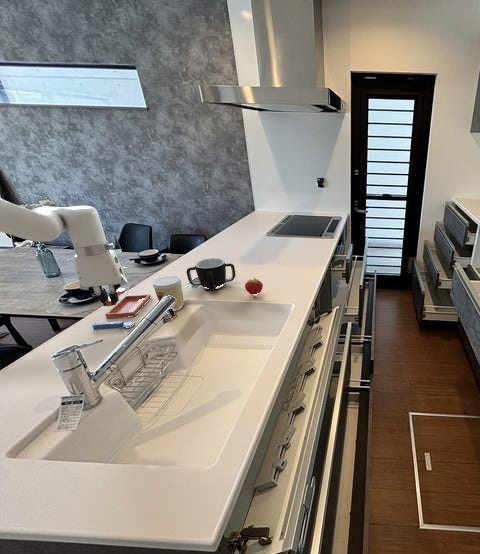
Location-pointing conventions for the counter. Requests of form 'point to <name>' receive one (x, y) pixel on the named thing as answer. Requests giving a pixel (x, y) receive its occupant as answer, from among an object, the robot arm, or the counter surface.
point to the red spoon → (119, 291)
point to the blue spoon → (111, 325)
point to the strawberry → (254, 286)
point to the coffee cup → (169, 289)
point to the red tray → (126, 306)
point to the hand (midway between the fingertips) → (110, 303)
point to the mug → (211, 273)
